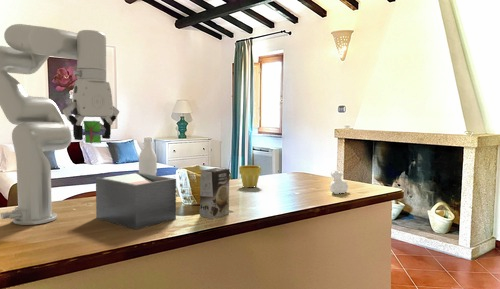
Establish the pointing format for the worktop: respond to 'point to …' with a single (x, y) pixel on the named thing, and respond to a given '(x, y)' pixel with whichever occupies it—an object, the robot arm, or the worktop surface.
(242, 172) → the plant pot
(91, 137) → the geometric puzzle
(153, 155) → the water bottle
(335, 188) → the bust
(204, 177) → the coffee box
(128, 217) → the bin
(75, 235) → the worktop surface
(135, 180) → the trapdoor
